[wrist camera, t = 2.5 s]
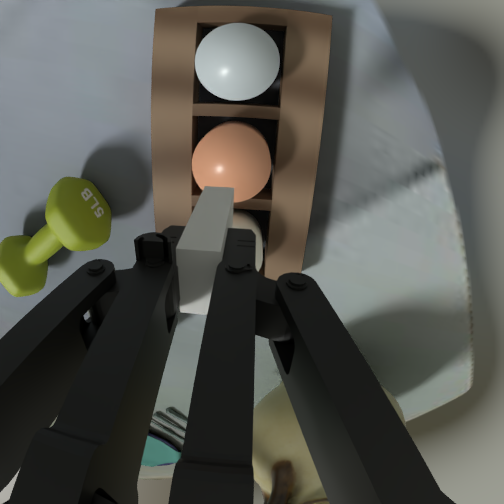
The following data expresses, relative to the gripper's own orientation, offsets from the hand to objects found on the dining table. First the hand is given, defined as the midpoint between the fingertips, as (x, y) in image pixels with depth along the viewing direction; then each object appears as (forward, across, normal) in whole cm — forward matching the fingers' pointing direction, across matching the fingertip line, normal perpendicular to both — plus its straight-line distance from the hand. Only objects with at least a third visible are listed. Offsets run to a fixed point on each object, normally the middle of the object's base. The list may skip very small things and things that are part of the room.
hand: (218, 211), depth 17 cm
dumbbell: (+14, -20, -9) cm, 26 cm away
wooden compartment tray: (+14, 0, 0) cm, 14 cm away
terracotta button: (+12, 0, 0) cm, 12 cm away
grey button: (+12, 0, +8) cm, 15 cm away
